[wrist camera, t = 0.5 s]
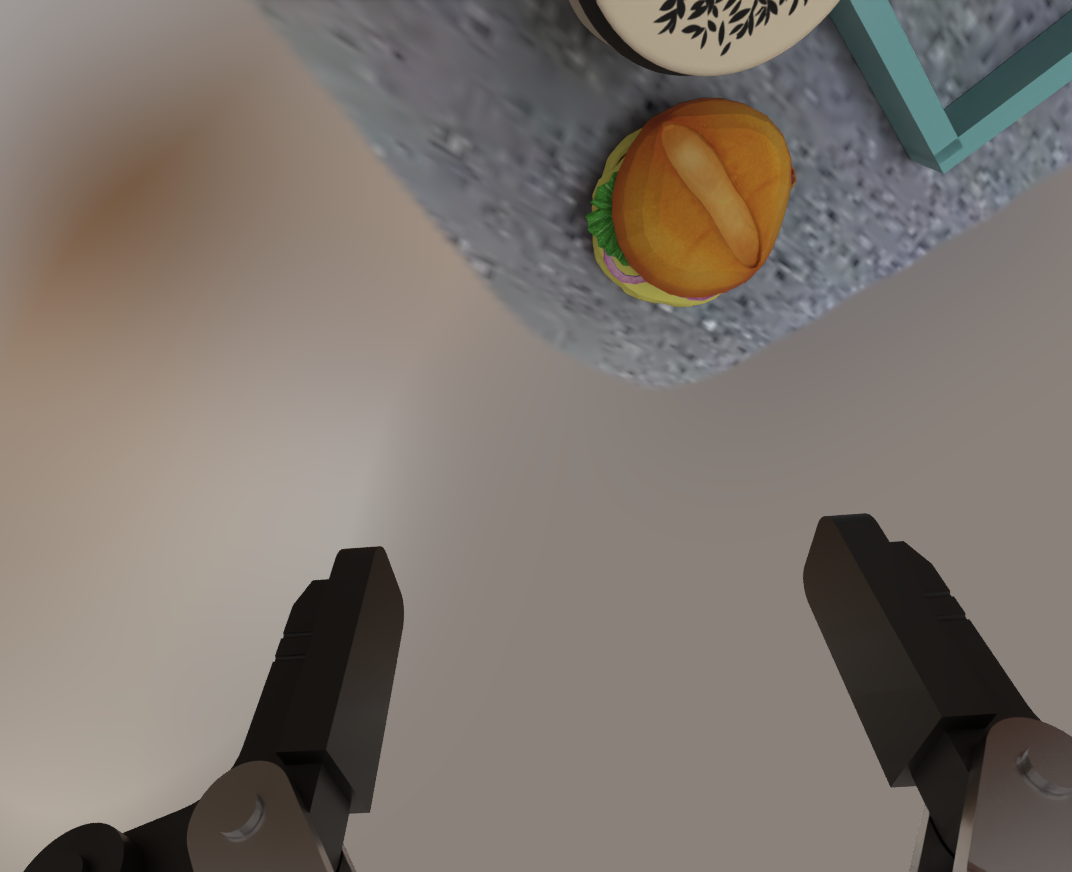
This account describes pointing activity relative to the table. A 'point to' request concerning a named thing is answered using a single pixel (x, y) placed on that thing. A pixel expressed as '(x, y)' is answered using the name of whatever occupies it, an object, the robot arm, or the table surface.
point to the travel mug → (701, 31)
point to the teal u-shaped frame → (916, 106)
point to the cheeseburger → (691, 202)
